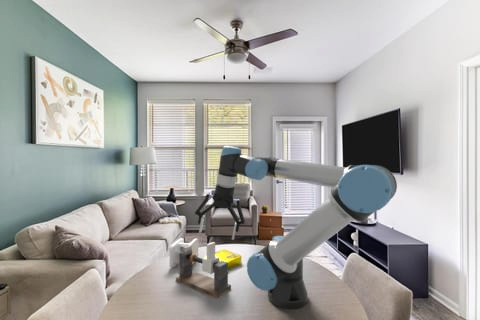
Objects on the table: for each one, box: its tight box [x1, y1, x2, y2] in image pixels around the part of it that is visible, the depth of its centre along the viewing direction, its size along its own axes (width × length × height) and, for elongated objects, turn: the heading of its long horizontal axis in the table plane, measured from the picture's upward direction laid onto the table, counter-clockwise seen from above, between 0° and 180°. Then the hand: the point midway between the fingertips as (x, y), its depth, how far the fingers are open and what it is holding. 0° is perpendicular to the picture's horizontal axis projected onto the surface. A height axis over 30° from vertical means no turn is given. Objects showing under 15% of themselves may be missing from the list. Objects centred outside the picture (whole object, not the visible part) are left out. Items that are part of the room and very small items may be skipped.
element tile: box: [203, 248, 242, 271], centre depth 126 cm, size 15×15×5 cm
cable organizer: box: [168, 237, 199, 268], centre depth 126 cm, size 15×11×12 cm
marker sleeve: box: [201, 241, 220, 275], centre depth 101 cm, size 5×5×11 cm
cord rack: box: [175, 244, 232, 299], centre depth 104 cm, size 24×9×14 cm, turn 54°
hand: (216, 235), depth 99 cm, fingers open, 13 cm apart
